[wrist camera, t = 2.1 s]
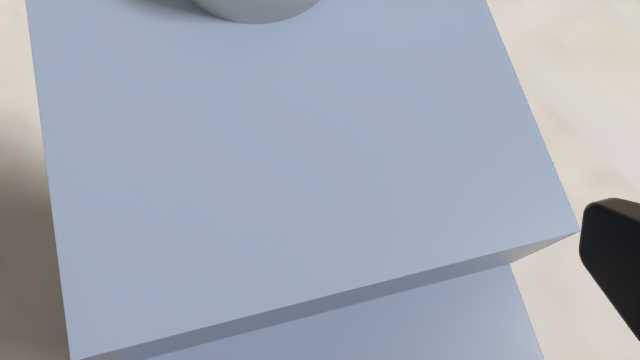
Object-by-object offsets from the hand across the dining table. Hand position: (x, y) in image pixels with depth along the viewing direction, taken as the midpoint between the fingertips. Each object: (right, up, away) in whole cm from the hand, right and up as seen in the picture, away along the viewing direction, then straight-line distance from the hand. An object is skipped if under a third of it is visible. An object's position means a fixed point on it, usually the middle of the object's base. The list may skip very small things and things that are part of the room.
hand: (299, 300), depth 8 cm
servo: (-1, -1, +9) cm, 9 cm away
